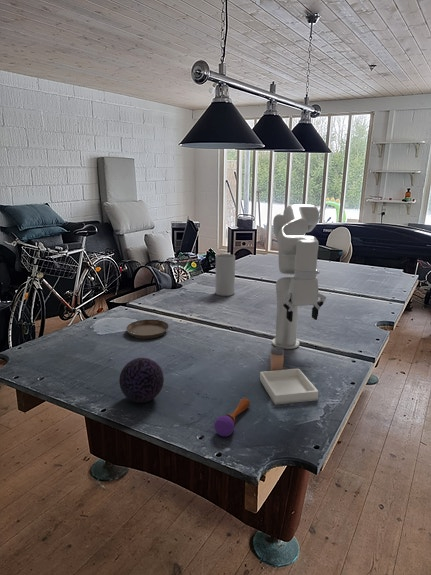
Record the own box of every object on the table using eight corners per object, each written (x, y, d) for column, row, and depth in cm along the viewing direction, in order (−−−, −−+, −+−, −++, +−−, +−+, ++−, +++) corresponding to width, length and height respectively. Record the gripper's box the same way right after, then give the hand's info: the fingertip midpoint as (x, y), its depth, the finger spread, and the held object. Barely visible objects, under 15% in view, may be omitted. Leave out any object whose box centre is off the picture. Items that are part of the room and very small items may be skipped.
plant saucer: (161, 342, 192) (160, 336, 192) (119, 338, 196) (119, 332, 195) (174, 327, 212) (174, 321, 211) (136, 324, 216) (135, 318, 215)
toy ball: (166, 388, 151) (164, 350, 147) (162, 410, 137) (160, 369, 133) (124, 388, 151) (122, 350, 147) (116, 411, 136) (114, 370, 132)
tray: (259, 380, 157) (260, 371, 156) (298, 376, 160) (299, 368, 159) (274, 404, 141) (275, 395, 140) (317, 400, 144) (318, 391, 143)
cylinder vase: (237, 292, 272) (238, 255, 266) (228, 297, 262) (228, 258, 255) (221, 289, 279) (222, 253, 272) (211, 294, 268) (211, 256, 262)
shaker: (268, 368, 167) (269, 347, 164) (280, 367, 168) (281, 347, 165) (272, 374, 162) (273, 353, 160) (285, 373, 163) (286, 352, 160)
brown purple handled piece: (255, 398, 137) (231, 426, 120) (251, 414, 139) (226, 443, 121) (239, 391, 140) (213, 417, 122) (235, 406, 141) (209, 434, 123)
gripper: (322, 270, 152) (319, 314, 156) (278, 273, 148) (276, 317, 153) (332, 275, 145) (328, 321, 149) (286, 278, 141) (283, 325, 146)
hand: (302, 319), depth 151 cm, fingers open, 9 cm apart
